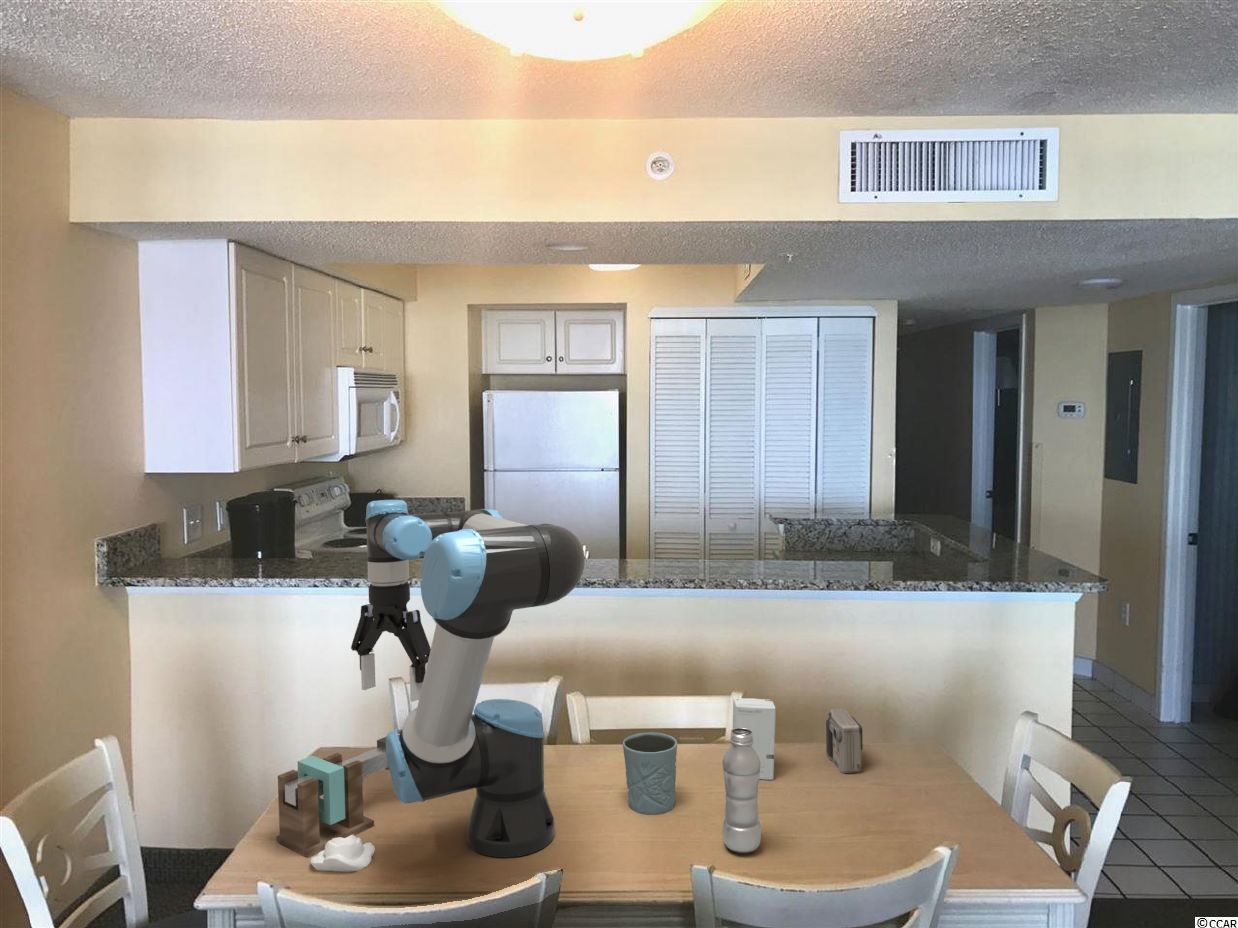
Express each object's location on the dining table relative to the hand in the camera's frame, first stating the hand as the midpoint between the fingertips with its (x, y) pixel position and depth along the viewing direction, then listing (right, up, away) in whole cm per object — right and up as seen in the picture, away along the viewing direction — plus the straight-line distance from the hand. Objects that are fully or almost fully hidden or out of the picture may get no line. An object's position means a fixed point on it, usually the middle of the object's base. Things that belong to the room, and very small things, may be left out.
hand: (392, 693), depth 164 cm
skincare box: (+70, -20, +12) cm, 74 cm away
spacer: (-9, -18, -13) cm, 24 cm away
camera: (+90, -19, +16) cm, 93 cm away
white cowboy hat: (-3, -22, -21) cm, 31 cm away
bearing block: (-9, -21, -13) cm, 26 cm away
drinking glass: (+49, -21, -2) cm, 53 cm away
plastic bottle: (+64, -21, -18) cm, 69 cm away
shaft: (-5, -14, -8) cm, 17 cm away
